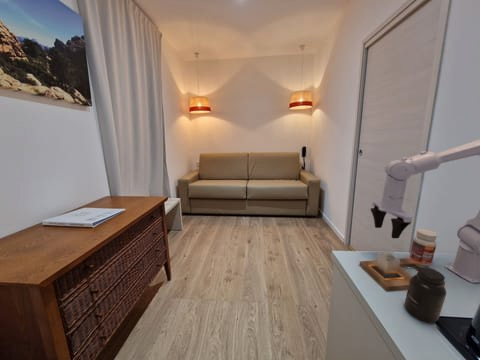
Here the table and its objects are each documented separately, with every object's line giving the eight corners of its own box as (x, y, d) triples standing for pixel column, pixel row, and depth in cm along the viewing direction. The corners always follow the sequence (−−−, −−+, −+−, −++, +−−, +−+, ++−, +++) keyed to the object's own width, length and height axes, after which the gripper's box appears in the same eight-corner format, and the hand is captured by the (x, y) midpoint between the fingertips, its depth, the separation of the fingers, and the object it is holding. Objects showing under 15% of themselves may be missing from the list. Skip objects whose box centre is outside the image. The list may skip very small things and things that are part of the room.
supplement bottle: (399, 309, 55) (408, 270, 52) (409, 298, 59) (418, 260, 56) (433, 329, 50) (446, 286, 47) (441, 315, 54) (453, 274, 51)
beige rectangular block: (385, 271, 70) (389, 253, 68) (396, 280, 66) (400, 260, 64) (374, 272, 69) (378, 253, 68) (384, 281, 66) (388, 261, 64)
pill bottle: (423, 267, 72) (430, 237, 69) (405, 257, 78) (411, 229, 75) (435, 264, 74) (443, 235, 71) (416, 254, 79) (423, 227, 77)
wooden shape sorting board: (408, 261, 75) (409, 257, 75) (444, 286, 63) (445, 281, 63) (359, 265, 73) (360, 260, 72) (386, 291, 61) (387, 286, 61)
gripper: (367, 190, 78) (361, 223, 81) (400, 203, 64) (392, 243, 67) (384, 189, 79) (378, 223, 82) (421, 203, 65) (412, 242, 68)
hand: (386, 232), depth 75 cm, fingers open, 7 cm apart
